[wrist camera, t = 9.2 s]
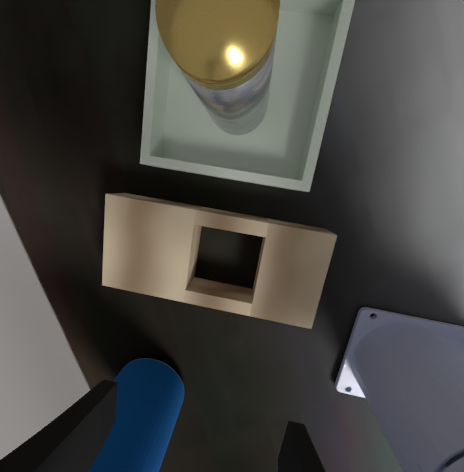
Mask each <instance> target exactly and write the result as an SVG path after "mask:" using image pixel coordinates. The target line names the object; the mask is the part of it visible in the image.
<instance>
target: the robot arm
mask: <svg viewBox="0 0 464 472" xmlns="http://www.w3.org/2000/svg"><path fill="white" fill-rule="evenodd" d="M372 313H374V316H372V317H370V315H371V314H372ZM117 387H118V383H117V382H113V381H108V380H102V381H101V382H100V383H99V384H97V385H96V386H95V387H94V388H93V389H91V390H90V391H89V392H88V393H87V394H85V395H84V396H83V397H82V398H81V399H79V400H78V401H77V402H76V403H74V404H73V405H72V406H71V407H69V408H68V409H67V410H66V411H65V412H63V413H62V414H61V415H60V416H58V417H57V418H56V419H54V420H53V421H52V422H51V423H49V424H48V425H47V426H45V427H44V428H43V429H42V430H41V431H39V432H38V433H36V434H35V435H34V436H32V437H31V438H30V439H28V440H27V441H26V442H24V443H23V444H22V445H20V446H19V447H18V448H16V449H15V450H13V451H12V452H11V453H9V454H8V455H7V456H6V457H4V458H3V459H1V460H0V472H88V471H89V469H90V468H91V466H92V464H93V463H94V461H95V459H96V458H97V456H98V454H99V453H100V451H101V449H102V447H103V445H104V443H105V441H106V439H107V437H108V435H109V433H110V431H111V429H112V427H113V425H114V423H115V420H116V403H117ZM335 387H336V389H337V391H339V392H341V393H346V394H350V395H355V396H359V397H364V398H366V400H367V402H368V404H369V406H370V408H371V409H372V411H373V413H374V415H375V417H376V419H377V421H378V423H379V425H380V427H381V429H382V431H383V433H384V435H385V436H386V438H387V440H388V442H389V444H390V446H391V448H392V450H393V452H394V454H395V456H396V458H397V460H398V461H399V463H400V465H401V467H402V469H403V471H404V472H464V326H459V325H454V324H449V323H444V322H439V321H434V320H429V319H424V318H419V317H414V316H409V315H404V314H399V313H394V312H389V311H384V310H379V309H374V308H369V307H362V308H361V309H359V311H358V314H357V317H356V320H355V323H354V326H353V329H352V333H351V336H350V339H349V342H348V345H347V348H346V351H345V354H344V357H343V360H342V363H341V366H340V369H339V373H338V376H337V379H336V382H335ZM346 387H348V388H346ZM278 472H325V469H324V467H323V465H322V463H321V461H320V459H319V456H318V454H317V452H316V450H315V447H314V445H313V443H312V441H311V438H310V436H309V434H308V431H307V429H306V427H305V425H304V424H300V423H295V422H291V421H288V425H287V429H286V432H285V436H284V439H283V443H282V446H281V450H280V453H279V457H278Z"/></svg>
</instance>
